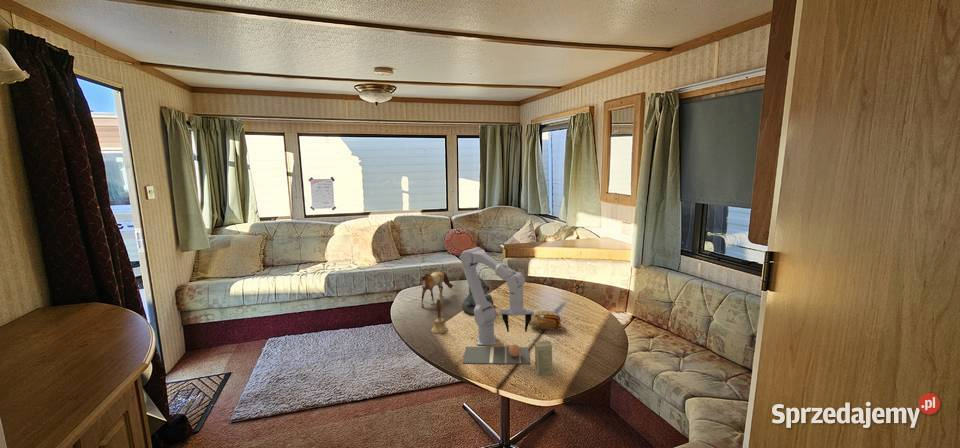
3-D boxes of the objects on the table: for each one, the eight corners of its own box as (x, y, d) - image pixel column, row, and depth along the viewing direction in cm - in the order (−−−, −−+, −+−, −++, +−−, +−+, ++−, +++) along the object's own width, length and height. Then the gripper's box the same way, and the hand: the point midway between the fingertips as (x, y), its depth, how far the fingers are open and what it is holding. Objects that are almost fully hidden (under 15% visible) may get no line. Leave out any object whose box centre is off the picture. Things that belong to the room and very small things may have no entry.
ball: (509, 353, 169) (508, 342, 168) (520, 353, 168) (520, 342, 167) (509, 359, 164) (508, 348, 163) (521, 359, 163) (520, 347, 163)
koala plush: (493, 316, 210) (493, 281, 207) (460, 316, 211) (459, 281, 207) (493, 304, 227) (492, 271, 224) (462, 304, 228) (461, 272, 224)
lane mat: (465, 347, 176) (465, 346, 176) (528, 347, 174) (528, 346, 174) (462, 363, 162) (462, 362, 162) (530, 364, 160) (530, 363, 160)
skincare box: (550, 369, 156) (550, 340, 154) (552, 375, 152) (552, 345, 150) (534, 369, 156) (534, 341, 154) (536, 375, 151) (536, 346, 149)
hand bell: (429, 328, 197) (428, 298, 194) (445, 325, 200) (444, 295, 197) (433, 335, 189) (432, 303, 187) (450, 331, 192) (448, 301, 190)
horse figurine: (425, 311, 219) (423, 276, 216) (414, 309, 223) (412, 274, 219) (454, 293, 246) (453, 262, 243) (444, 292, 250) (442, 261, 247)
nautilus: (575, 332, 189) (555, 343, 180) (542, 316, 205) (522, 326, 196) (576, 317, 187) (555, 328, 178) (542, 302, 203) (522, 311, 194)
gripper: (499, 304, 163) (499, 334, 165) (534, 304, 162) (534, 335, 164) (499, 298, 170) (500, 327, 172) (533, 298, 169) (533, 327, 171)
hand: (516, 330), depth 168 cm, fingers open, 7 cm apart
